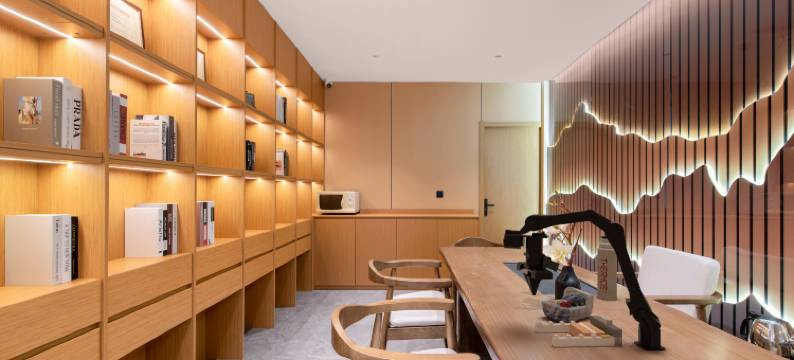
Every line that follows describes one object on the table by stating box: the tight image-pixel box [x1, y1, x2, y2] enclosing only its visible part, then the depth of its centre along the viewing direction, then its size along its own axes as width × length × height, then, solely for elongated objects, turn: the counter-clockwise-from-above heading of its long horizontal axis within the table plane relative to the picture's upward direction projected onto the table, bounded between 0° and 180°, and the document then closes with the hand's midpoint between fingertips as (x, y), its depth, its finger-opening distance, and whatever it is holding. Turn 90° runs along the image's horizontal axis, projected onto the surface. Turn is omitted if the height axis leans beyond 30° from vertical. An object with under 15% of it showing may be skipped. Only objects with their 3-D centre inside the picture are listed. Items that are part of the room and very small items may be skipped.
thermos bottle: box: [596, 235, 618, 301], centre depth 197 cm, size 8×8×28 cm
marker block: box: [569, 322, 606, 337], centre depth 145 cm, size 10×7×4 cm
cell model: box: [541, 286, 595, 323], centre depth 167 cm, size 13×11×20 cm
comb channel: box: [535, 315, 623, 348], centre depth 144 cm, size 15×22×6 cm
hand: (533, 295), depth 153 cm, fingers closed
